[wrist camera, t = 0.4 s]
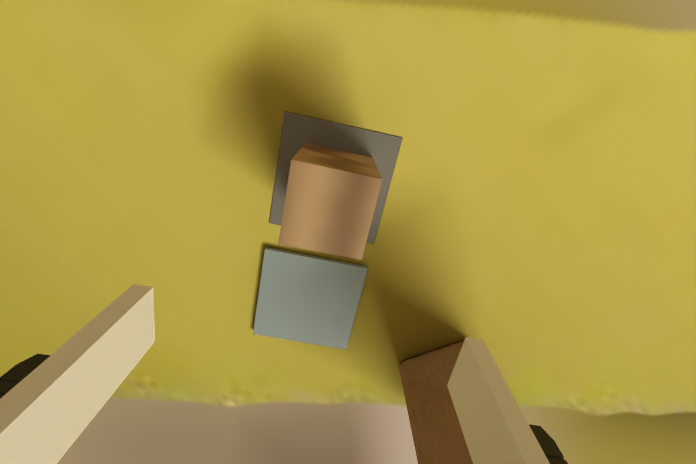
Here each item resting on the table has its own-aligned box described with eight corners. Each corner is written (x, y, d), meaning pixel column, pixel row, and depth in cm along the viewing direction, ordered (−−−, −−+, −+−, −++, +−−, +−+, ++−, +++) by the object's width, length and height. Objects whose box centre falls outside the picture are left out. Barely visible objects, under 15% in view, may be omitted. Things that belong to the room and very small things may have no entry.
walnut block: (295, 206, 37) (278, 243, 28) (305, 142, 35) (291, 159, 25) (357, 219, 38) (361, 259, 28) (372, 157, 35) (382, 179, 26)
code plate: (269, 222, 38) (269, 223, 38) (285, 111, 34) (285, 111, 33) (373, 243, 39) (373, 243, 39) (402, 138, 35) (402, 138, 34)
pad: (254, 330, 43) (253, 333, 43) (266, 246, 39) (264, 249, 38) (346, 346, 44) (346, 349, 44) (367, 266, 40) (368, 268, 39)
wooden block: (396, 360, 45) (431, 543, 27) (468, 335, 44) (559, 511, 25) (420, 410, 49) (467, 603, 30) (488, 388, 47) (581, 577, 29)
